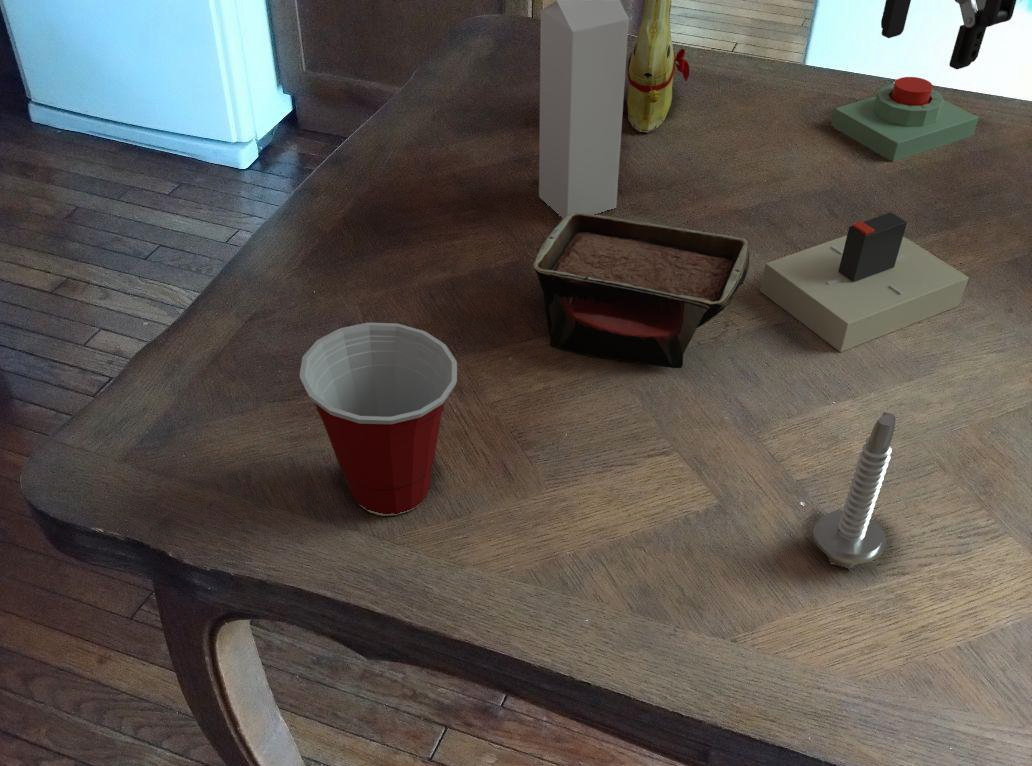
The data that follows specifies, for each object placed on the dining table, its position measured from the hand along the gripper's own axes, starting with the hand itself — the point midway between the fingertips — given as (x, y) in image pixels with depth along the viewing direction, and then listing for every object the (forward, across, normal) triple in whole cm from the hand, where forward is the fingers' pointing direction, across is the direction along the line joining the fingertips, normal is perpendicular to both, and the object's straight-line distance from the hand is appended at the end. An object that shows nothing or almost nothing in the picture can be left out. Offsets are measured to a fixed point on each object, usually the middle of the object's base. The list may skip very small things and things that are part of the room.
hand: (924, 50), depth 99 cm
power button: (+11, -10, +12) cm, 19 cm away
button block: (+15, -10, +12) cm, 22 cm away
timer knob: (+12, +12, -15) cm, 23 cm away
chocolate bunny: (+15, -28, -10) cm, 33 cm away
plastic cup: (+15, +13, -64) cm, 67 cm away
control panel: (+15, +12, -16) cm, 25 cm away
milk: (+15, -16, -28) cm, 35 cm away
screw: (+15, +36, -39) cm, 55 cm away
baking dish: (+15, +5, -35) cm, 39 cm away
